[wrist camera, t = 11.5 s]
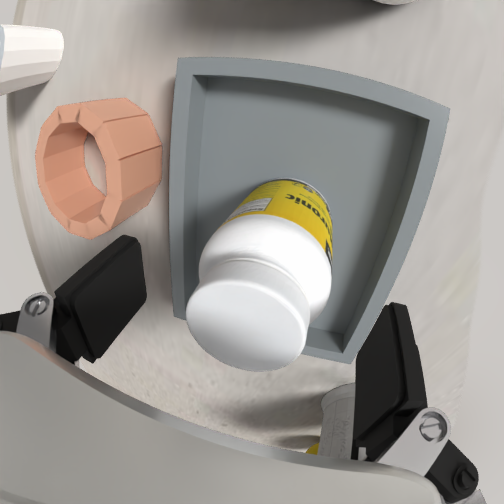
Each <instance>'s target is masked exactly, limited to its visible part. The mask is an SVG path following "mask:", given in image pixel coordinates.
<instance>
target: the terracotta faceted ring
mask: <svg viewBox="0 0 504 504" xmlns="http://www.w3.org/2000/svg"><path fill="white" fill-rule="evenodd" d="M88 132H90V133H91V134H92V135H93V136H94V137H95V140H96V142H97V145H98V147H99V149H100V152H101V154H102V157H103V159H104V161H105V163H106V182H107V196H105V195H104V194H102V193H101V192H100V191H99V190H98V189H97V188H96V187H95V186H94V185H93V184H92V182H91V179H90V177H89V175H88V173H87V170H86V168H85V163H84V142H85V140H86V137H87V134H88ZM160 145H162V144H161V141H160V139H159V137H158V134H157V132H156V130H155V127H154V125H153V123H152V121H151V118H150V116H149V115H148V113H147V112H145V111H144V110H142V109H141V108H140V107H138V106H137V105H135V104H134V103H133V102H131V101H130V100H128V99H127V98H115V99H103V100H95V101H87V102H80V103H74V104H68V105H62V106H58V107H57V108H56V109H55V110H54V111H53V113H52V114H51V115H50V116H49V117H48V119H47V120H46V121H45V122H44V124H43V125H42V127H41V131H40V135H39V139H38V143H37V148H36V152H35V154H36V155H35V160H36V170H37V178H38V185H39V188H40V190H41V193H42V195H43V197H44V200H45V202H46V204H47V206H48V209H49V211H50V212H51V214H52V215H53V216H54V217H55V218H56V219H57V221H58V222H59V223H60V224H61V225H62V226H63V227H64V228H65V229H66V230H67V231H68V232H69V233H71V234H74V235H77V236H80V237H83V238H86V239H93V238H95V237H97V236H99V235H101V234H103V233H105V232H107V231H109V230H111V229H112V228H114V227H115V226H117V225H118V224H120V223H121V222H123V221H124V220H126V219H127V218H129V217H130V216H132V215H133V214H135V213H136V212H138V211H139V210H141V209H142V208H144V207H145V206H147V205H148V204H149V202H150V200H151V198H152V196H153V194H154V193H155V191H156V189H157V187H158V185H159V183H160V182H161V179H162V146H160Z"/></svg>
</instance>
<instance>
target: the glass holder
mask: <svg viewBox="0 0 504 504" xmlns="http://www.w3.org/2000/svg"><path fill="white" fill-rule="evenodd" d="M354 406H355V383H351V384H346V385H343V386H340V387H337V388H335V389H333V390H331V391H329V392H328V393H327V394H326V395H325V396H324V397H323V398H322V401H321V407H322V411H323V415H324V416H323V423H322V429H321V435H320V442H319V447H318V453H317V455H320V456H326V457H333V458H341V459H350V460H359V461H361V460H362V459H363V458H364V457H365V456H366V454H365V453H366V448H362V447H356V439H353V422H354Z"/></svg>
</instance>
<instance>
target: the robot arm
mask: <svg viewBox="0 0 504 504" xmlns="http://www.w3.org/2000/svg"><path fill="white" fill-rule="evenodd" d="M54 293H55V295H56V298H55V299H54V300H53V298H52V296H51V295H50V294H48V293H44V292H43V293H37V294H34V295H31V296H30V297H29V298H28V299H26V300H25V302H24V303H23V305H22V307H21V311H16V312H11V313H6V314H1V315H0V504H486V502H485V499H484V497H483V495H482V493H481V490H480V489H479V490H476V487H477V485H478V472H477V469H476V467H475V466H474V465H473V463H471V461H470V460H469V459H468V458H467V457H466V456H465V455H464V454H463V453H462V452H461V451H460V450H459V449H458V448H457V447H456V446H455V445H454V444H453V443H452V442H451V441H450V440H449V436H450V434H451V425H450V421H449V419H448V417H447V416H446V415H445V413H444V412H442V411H441V410H439V409H437V408H434V407H429V408H428V406H427V398H426V391H425V384H424V378H423V372H422V366H421V360H420V355H419V350H418V347H417V345H416V344H415V339H414V334H413V330H412V325H411V321H410V317H409V313H408V309H407V306H406V305H403V304H399V303H394V302H391V303H390V304H389V305H385V306H384V307H383V309H382V311H381V313H380V315H379V317H378V319H377V321H376V322H375V324H374V326H373V328H372V330H371V332H370V333H369V335H368V337H367V339H366V340H365V342H364V344H363V345H362V347H361V349H360V350H359V352H358V354H357V357H356V380H355V406H354V422H353V439H356V447H362V448H366V453H365V454H366V456H365V457H364V458H363V459H362V460H361V461H359V460H350V459H341V458H333V457H326V456H320V455H314V454H308V453H302V452H297V451H291V450H286V449H281V448H277V447H272V446H268V445H264V444H260V443H256V442H252V441H248V440H244V439H241V438H237V437H234V436H230V435H227V434H224V433H221V432H218V431H215V430H211V429H209V428H206V427H203V426H200V425H197V424H194V423H192V422H189V421H186V420H184V419H181V418H178V417H176V416H173V415H171V414H169V413H166V412H164V411H161V410H159V409H157V408H155V407H152V406H150V405H148V404H146V403H144V402H141V401H139V400H137V399H135V398H133V397H131V396H129V395H127V394H125V393H123V392H121V391H119V390H117V389H115V388H113V387H111V386H110V385H108V384H106V383H104V382H102V381H100V380H99V379H97V378H95V377H93V376H92V375H90V374H88V373H86V372H85V371H83V370H82V369H80V368H79V359H80V357H81V356H82V357H83V358H84V359H86V360H87V361H89V362H91V363H94V362H95V360H96V359H97V358H101V357H102V355H103V354H104V353H105V352H106V350H107V349H108V348H109V346H110V345H111V344H112V343H113V341H114V340H115V339H116V338H117V336H118V335H119V334H120V332H121V331H122V330H123V329H124V327H125V326H126V325H127V324H128V322H129V321H130V320H131V319H132V318H133V316H134V315H135V314H136V313H137V311H138V310H139V309H140V308H141V307H142V305H143V304H144V303H145V301H146V298H147V293H146V286H145V279H144V271H143V263H142V254H141V245H140V243H139V242H138V240H137V239H136V238H135V237H131V236H127V235H122V236H120V237H119V238H118V239H116V240H115V241H114V242H113V243H111V244H110V245H109V246H107V247H106V248H105V249H104V250H102V251H101V252H100V253H99V254H98V255H96V256H95V257H94V258H93V259H91V260H90V261H89V262H88V263H87V264H85V265H84V266H83V267H82V268H81V269H80V270H78V271H77V272H76V273H75V274H74V275H73V276H71V277H70V278H69V279H68V280H67V281H66V282H65V283H64V284H62V285H61V286H60V287H59V288H58V289H57V290H56V291H55V292H54Z"/></svg>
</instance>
